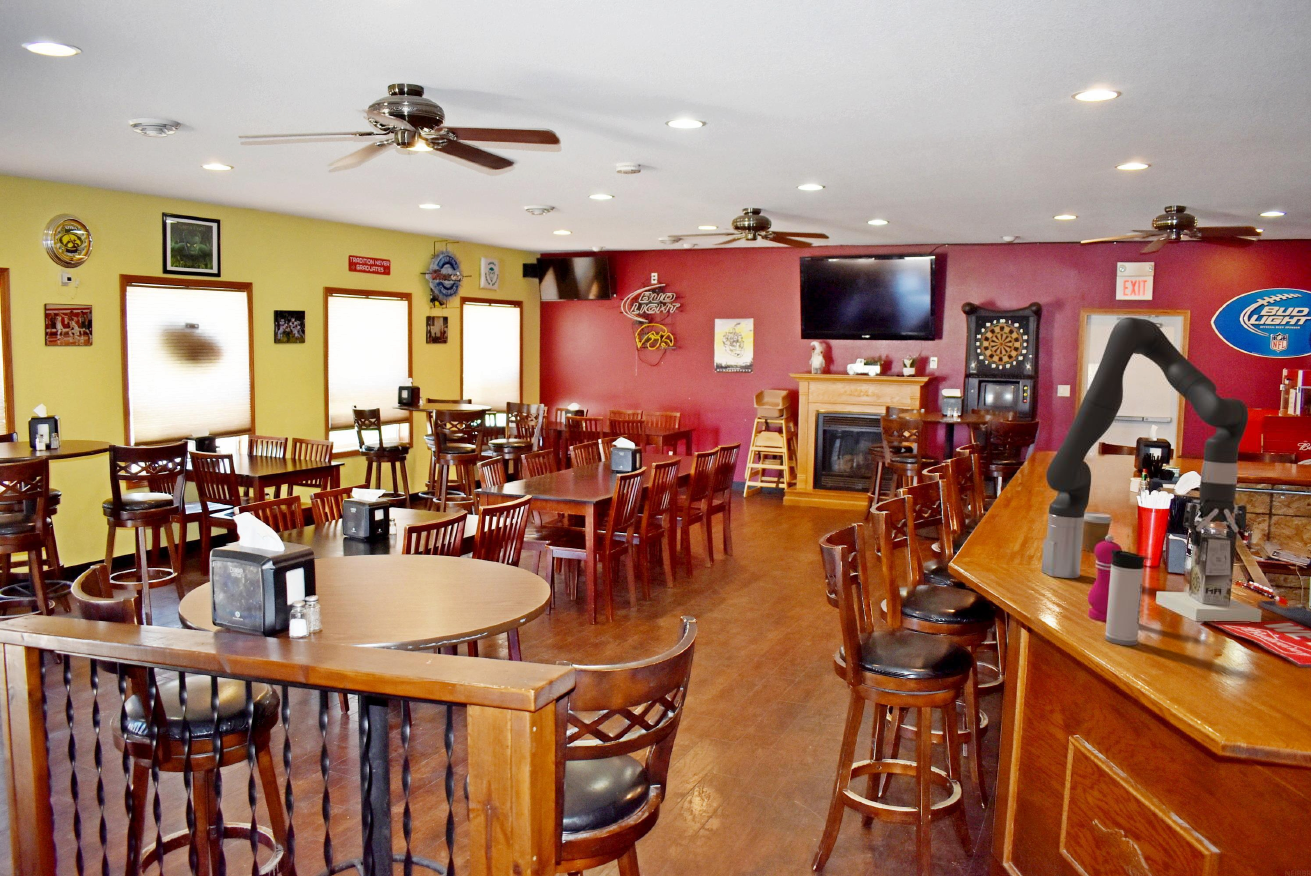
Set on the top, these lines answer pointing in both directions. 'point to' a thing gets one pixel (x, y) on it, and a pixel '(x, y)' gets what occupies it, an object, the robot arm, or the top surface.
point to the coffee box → (1212, 569)
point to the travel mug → (1124, 598)
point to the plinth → (1207, 608)
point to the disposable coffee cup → (1095, 529)
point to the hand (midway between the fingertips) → (1212, 546)
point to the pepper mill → (1102, 579)
